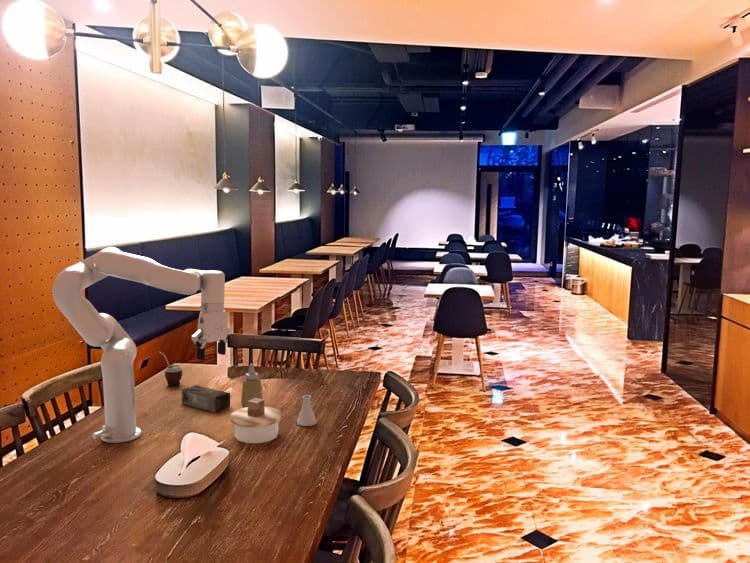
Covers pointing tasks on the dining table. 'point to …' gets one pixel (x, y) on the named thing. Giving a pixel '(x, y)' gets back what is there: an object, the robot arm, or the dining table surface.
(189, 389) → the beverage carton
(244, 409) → the lid
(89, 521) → the dining table surface
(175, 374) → the mate gourd
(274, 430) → the bowl
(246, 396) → the squeeze bottle
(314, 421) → the flask
